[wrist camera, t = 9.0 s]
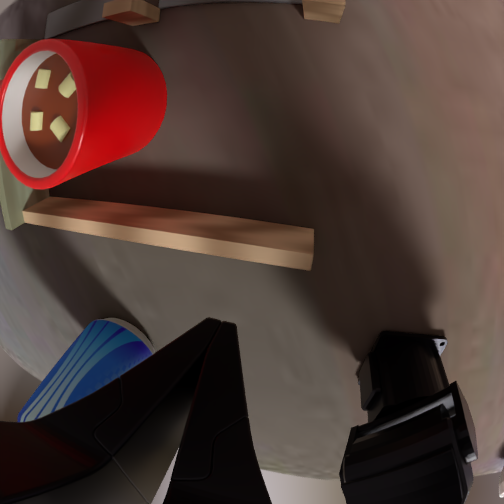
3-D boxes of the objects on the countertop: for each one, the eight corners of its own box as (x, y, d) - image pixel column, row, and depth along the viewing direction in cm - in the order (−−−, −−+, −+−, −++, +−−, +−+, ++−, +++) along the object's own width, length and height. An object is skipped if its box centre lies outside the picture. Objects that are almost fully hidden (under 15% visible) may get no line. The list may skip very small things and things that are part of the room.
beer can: (84, 303, 27) (-12, 417, 13) (155, 321, 26) (62, 471, 12) (104, 360, 31) (36, 464, 17) (168, 379, 30) (108, 506, 16)
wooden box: (341, -24, 11) (349, -61, 7) (311, 243, 19) (309, 286, 15) (42, 17, 14) (-1, 14, 10) (44, 206, 22) (6, 228, 18)
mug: (58, 39, 15) (-19, 39, 8) (184, 60, 15) (107, 44, 9) (38, 128, 19) (-35, 152, 12) (148, 171, 19) (72, 213, 12)
